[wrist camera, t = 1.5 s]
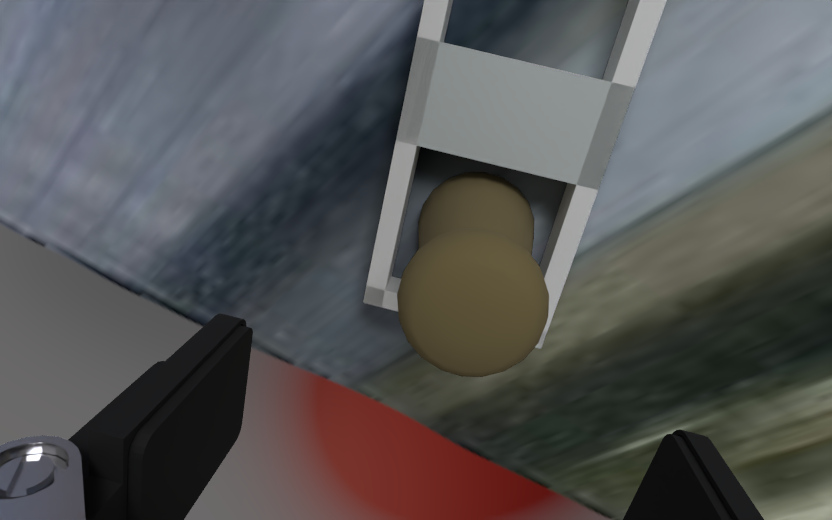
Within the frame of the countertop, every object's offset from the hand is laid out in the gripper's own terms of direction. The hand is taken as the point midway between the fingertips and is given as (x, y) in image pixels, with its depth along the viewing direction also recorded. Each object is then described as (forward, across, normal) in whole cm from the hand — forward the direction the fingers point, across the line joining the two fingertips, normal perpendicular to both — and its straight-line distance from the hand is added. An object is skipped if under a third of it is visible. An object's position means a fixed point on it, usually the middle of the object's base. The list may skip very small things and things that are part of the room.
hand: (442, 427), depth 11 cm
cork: (+16, -1, 0) cm, 16 cm away
